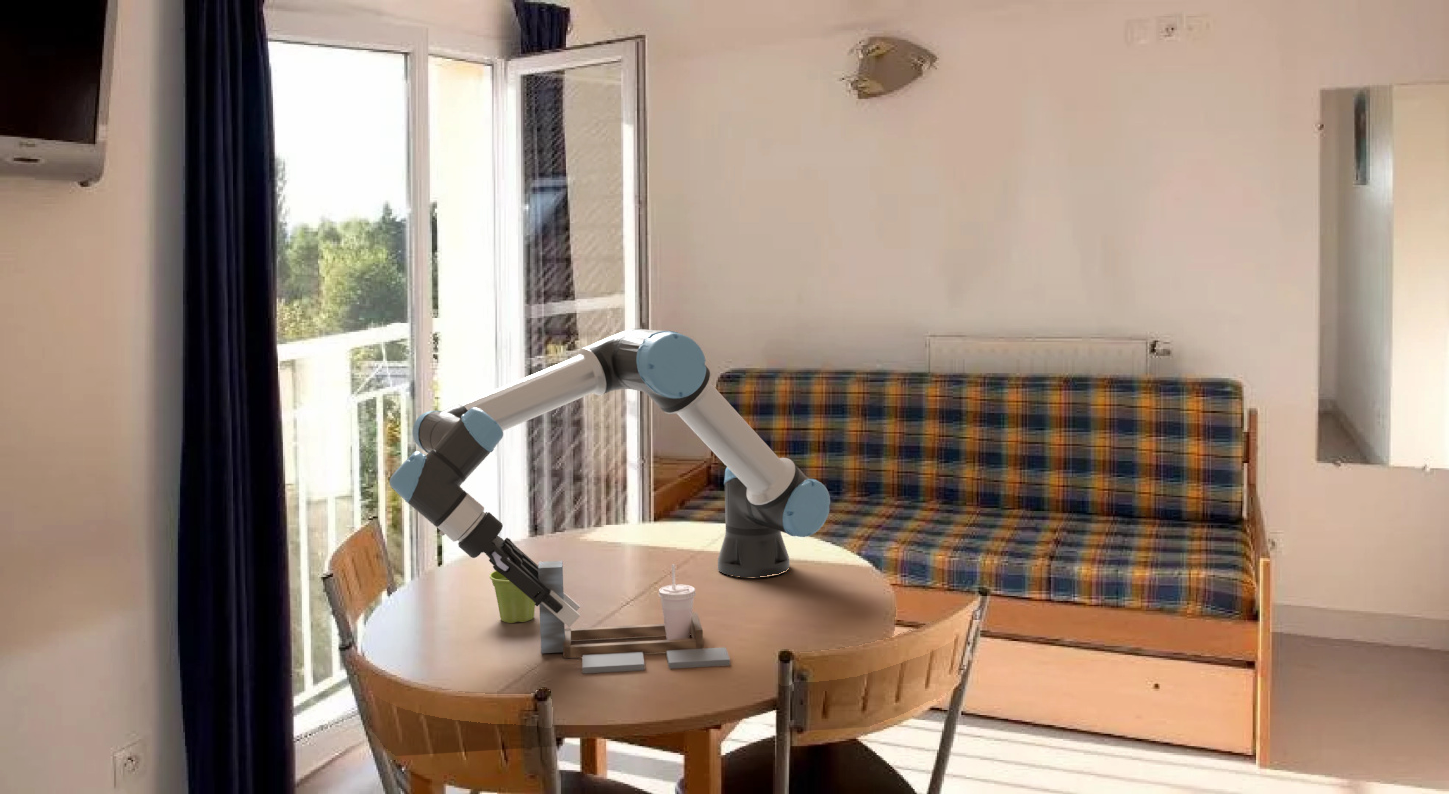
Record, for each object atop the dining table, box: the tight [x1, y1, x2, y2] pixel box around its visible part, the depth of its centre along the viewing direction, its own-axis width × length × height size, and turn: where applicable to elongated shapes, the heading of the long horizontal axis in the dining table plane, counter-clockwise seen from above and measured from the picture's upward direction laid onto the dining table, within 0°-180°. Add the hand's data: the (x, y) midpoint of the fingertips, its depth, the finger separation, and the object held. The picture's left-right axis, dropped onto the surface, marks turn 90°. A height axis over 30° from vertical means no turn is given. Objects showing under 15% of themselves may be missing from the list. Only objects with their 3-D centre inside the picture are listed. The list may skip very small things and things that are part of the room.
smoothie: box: [658, 564, 697, 640], centre depth 211 cm, size 6×6×14 cm
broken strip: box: [581, 647, 731, 674], centre depth 202 cm, size 24×6×1 cm, turn 97°
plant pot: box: [488, 570, 536, 624], centre depth 226 cm, size 9×9×9 cm
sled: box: [537, 560, 704, 659], centre depth 209 cm, size 27×10×15 cm, turn 97°
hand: (574, 616), depth 209 cm, fingers closed on sled, 4 cm apart
